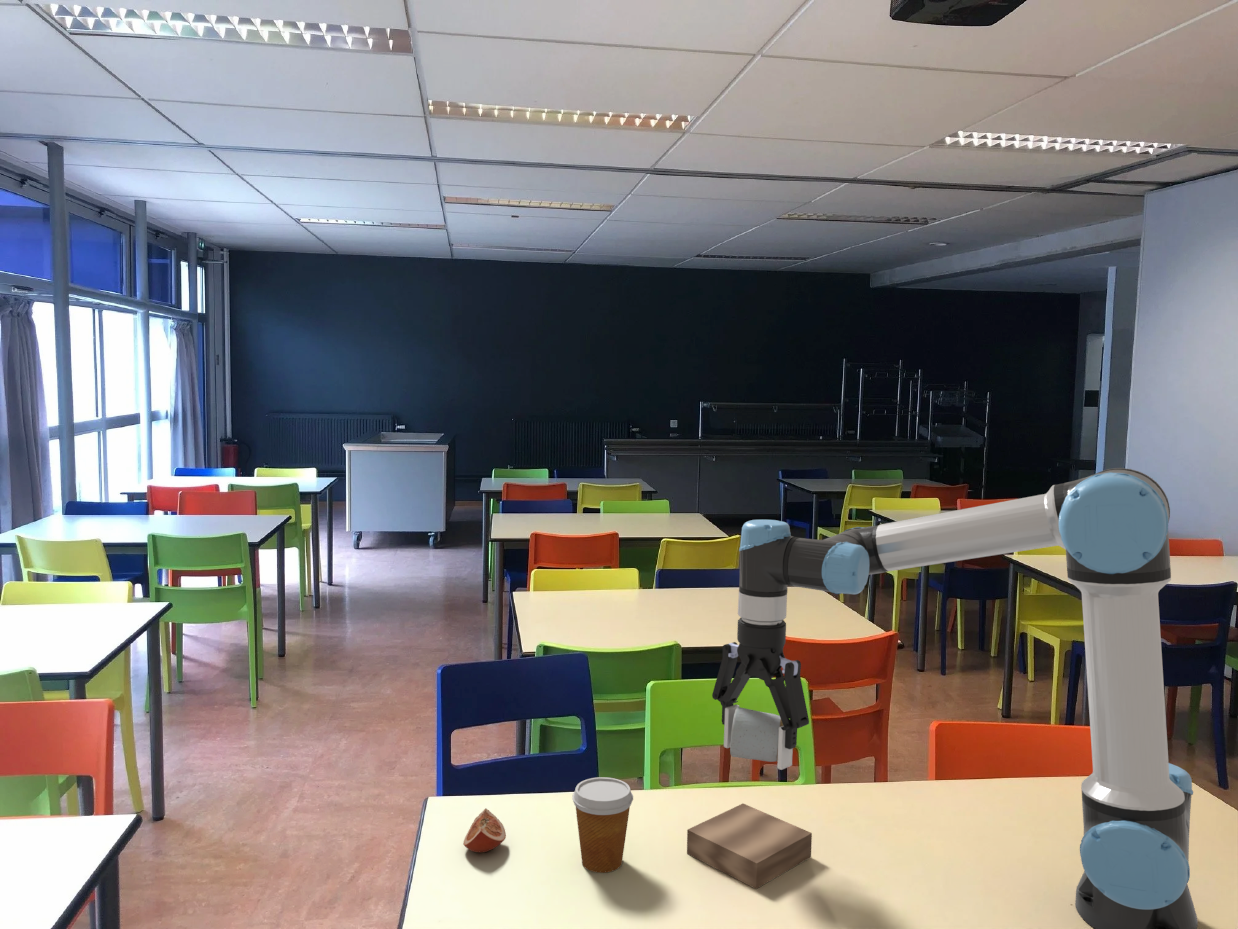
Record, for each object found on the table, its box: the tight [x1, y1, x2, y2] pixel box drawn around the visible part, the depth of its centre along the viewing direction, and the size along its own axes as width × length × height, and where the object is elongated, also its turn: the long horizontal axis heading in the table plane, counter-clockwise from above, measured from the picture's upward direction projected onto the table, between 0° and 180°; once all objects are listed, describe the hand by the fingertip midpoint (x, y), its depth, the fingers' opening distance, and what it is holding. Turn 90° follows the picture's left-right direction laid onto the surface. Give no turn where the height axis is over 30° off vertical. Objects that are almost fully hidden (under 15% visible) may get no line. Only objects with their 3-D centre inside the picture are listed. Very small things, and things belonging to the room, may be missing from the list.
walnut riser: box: [686, 803, 813, 890], centre depth 148 cm, size 14×14×4 cm
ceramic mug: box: [729, 706, 783, 763], centre depth 148 cm, size 11×8×8 cm
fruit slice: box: [463, 808, 507, 853], centre depth 149 cm, size 8×7×5 cm
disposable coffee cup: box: [571, 776, 634, 874], centre depth 144 cm, size 10×10×12 cm
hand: (757, 756), depth 147 cm, fingers closed on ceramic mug, 10 cm apart
